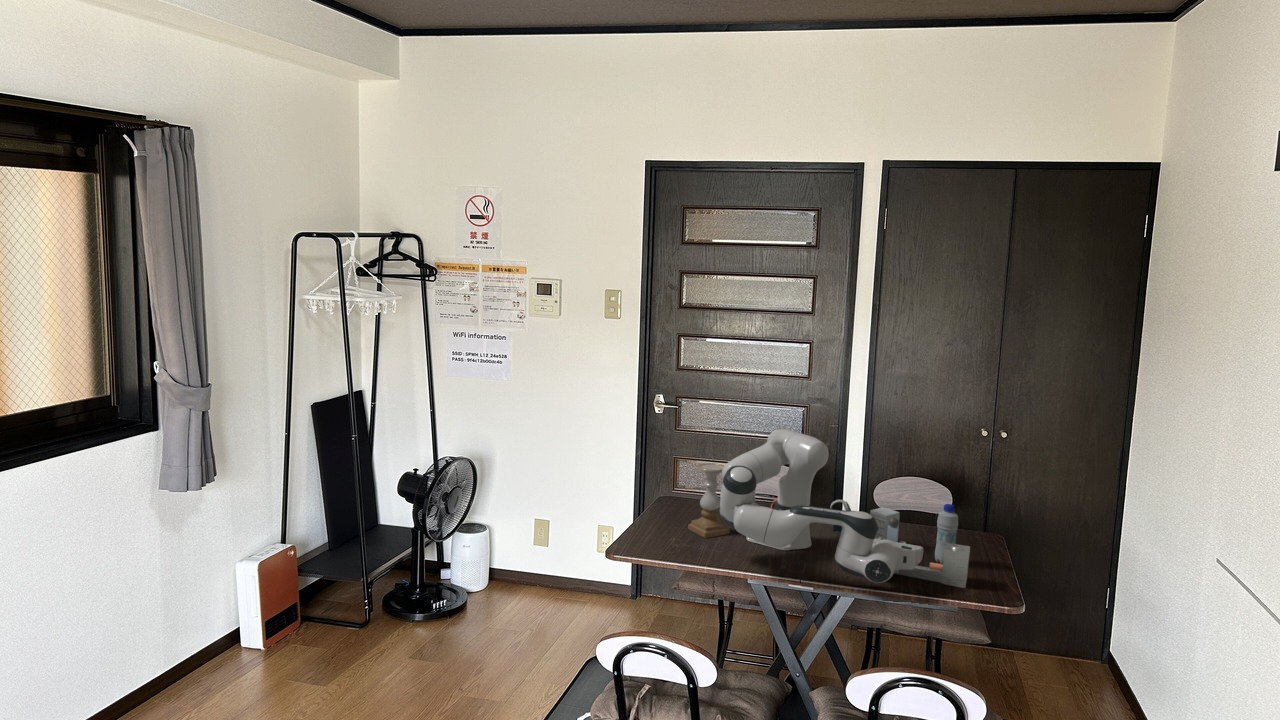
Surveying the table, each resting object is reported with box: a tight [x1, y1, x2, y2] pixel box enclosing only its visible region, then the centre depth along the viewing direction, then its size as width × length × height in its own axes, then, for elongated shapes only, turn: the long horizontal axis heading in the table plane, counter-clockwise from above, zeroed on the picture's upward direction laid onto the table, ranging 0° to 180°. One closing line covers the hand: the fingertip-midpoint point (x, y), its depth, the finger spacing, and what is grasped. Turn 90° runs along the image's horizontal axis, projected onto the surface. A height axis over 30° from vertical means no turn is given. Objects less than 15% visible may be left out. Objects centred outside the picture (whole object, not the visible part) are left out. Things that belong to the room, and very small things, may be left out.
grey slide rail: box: [893, 543, 971, 589], centre depth 270 cm, size 30×8×11 cm, turn 65°
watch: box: [829, 499, 852, 533], centre depth 312 cm, size 6×8×11 cm
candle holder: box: [687, 462, 730, 539], centre depth 303 cm, size 11×11×24 cm
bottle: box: [934, 503, 959, 564], centre depth 282 cm, size 7×7×20 cm
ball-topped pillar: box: [887, 517, 900, 573], centre depth 271 cm, size 8×6×17 cm
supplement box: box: [869, 506, 900, 540], centre depth 296 cm, size 7×7×13 cm
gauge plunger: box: [928, 562, 943, 571], centre depth 266 cm, size 7×2×2 cm, turn 65°
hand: (892, 541), depth 272 cm, fingers open, 5 cm apart
